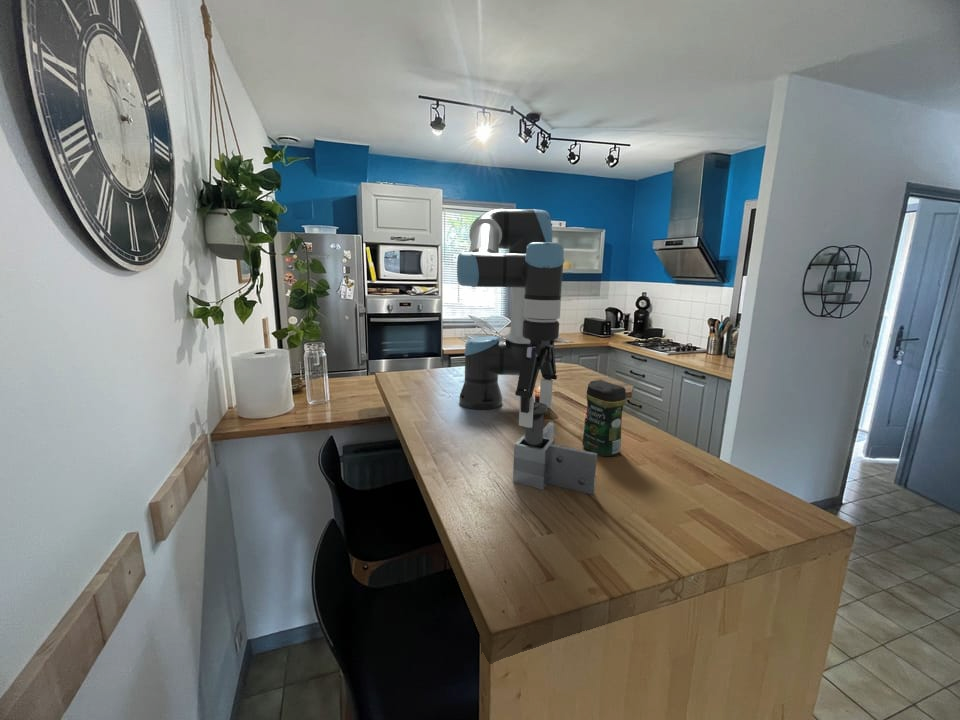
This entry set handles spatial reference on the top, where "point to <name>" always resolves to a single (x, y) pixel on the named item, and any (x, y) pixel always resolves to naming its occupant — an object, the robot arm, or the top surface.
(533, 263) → the robot arm
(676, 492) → the top surface
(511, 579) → the top surface
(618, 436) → the coffee jar
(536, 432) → the pin
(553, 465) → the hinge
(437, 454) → the top surface
